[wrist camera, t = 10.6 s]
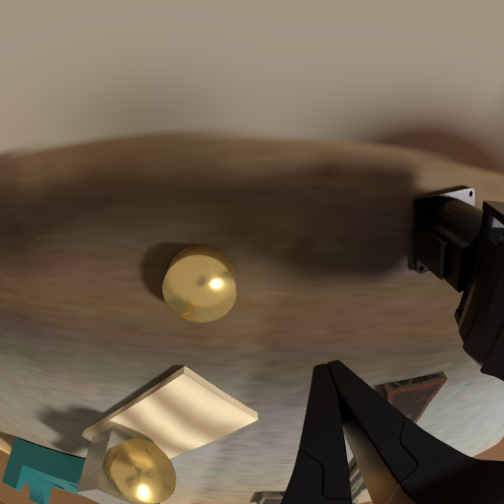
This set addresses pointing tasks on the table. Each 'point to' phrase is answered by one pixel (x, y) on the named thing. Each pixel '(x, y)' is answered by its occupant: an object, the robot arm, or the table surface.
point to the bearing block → (101, 468)
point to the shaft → (140, 472)
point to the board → (178, 414)
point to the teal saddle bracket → (41, 470)
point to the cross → (401, 397)
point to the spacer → (200, 284)
